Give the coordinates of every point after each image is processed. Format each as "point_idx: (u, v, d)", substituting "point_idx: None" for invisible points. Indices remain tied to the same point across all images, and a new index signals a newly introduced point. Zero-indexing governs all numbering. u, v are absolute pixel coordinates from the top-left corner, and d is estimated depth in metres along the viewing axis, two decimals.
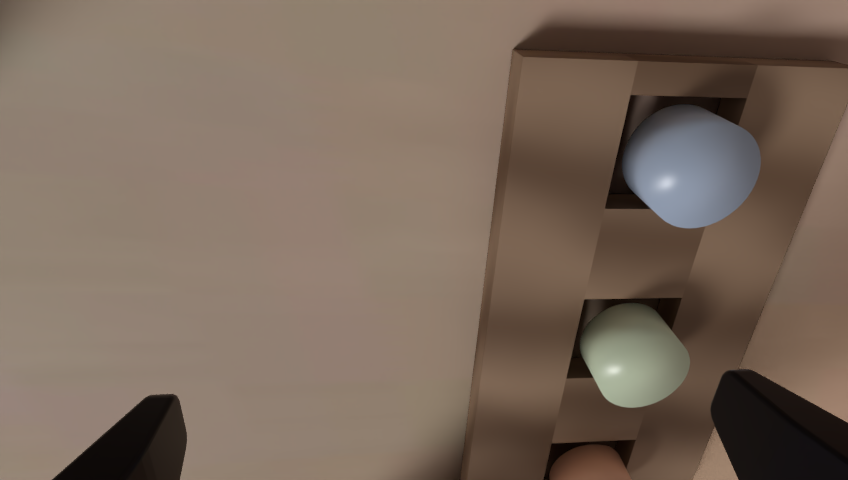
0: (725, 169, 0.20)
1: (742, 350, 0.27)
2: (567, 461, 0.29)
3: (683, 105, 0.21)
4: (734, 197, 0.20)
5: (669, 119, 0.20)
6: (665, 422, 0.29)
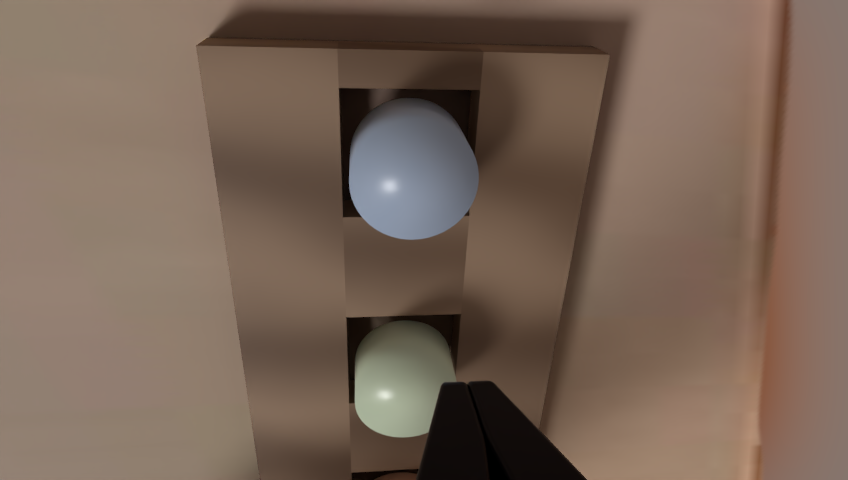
0: (436, 172, 0.17)
1: (546, 370, 0.25)
2: None
3: (404, 99, 0.18)
4: (456, 204, 0.18)
5: (378, 115, 0.18)
6: None
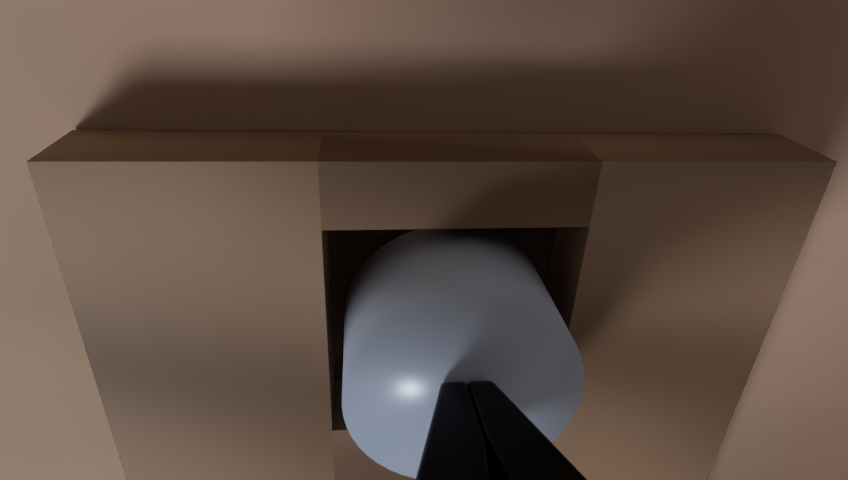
0: (506, 382, 0.09)
1: None
2: None
3: (442, 229, 0.10)
4: (539, 427, 0.10)
5: (396, 267, 0.09)
6: None
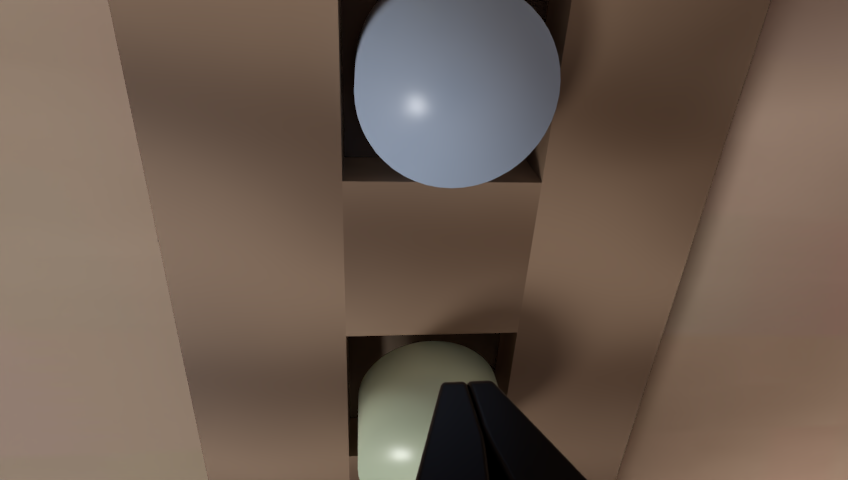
0: (494, 76, 0.11)
1: (632, 411, 0.17)
2: None
3: None
4: (522, 131, 0.11)
5: None
6: None
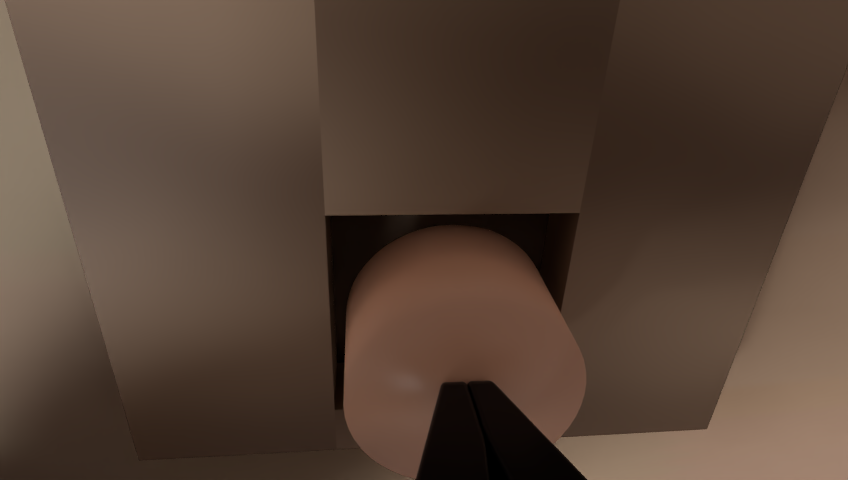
0: None
1: None
2: (376, 269, 0.10)
3: None
4: None
5: None
6: (663, 151, 0.10)
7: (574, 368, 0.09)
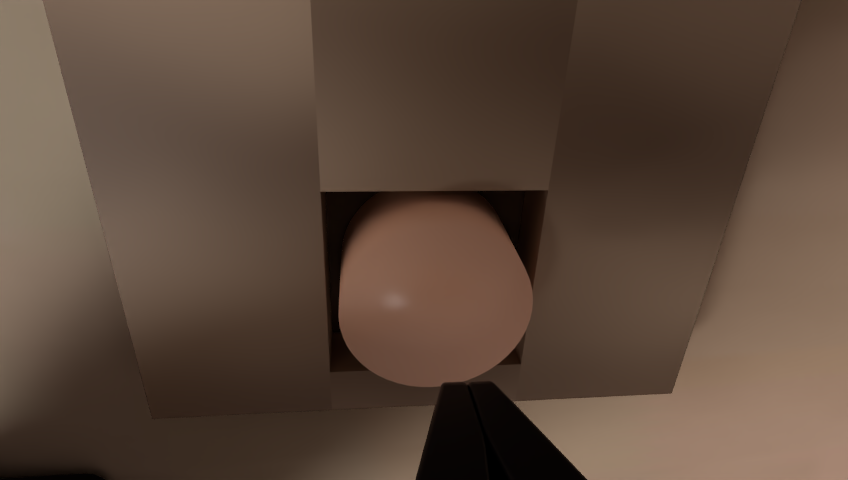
0: None
1: None
2: (365, 212, 0.12)
3: None
4: None
5: None
6: (621, 134, 0.11)
7: (522, 287, 0.11)
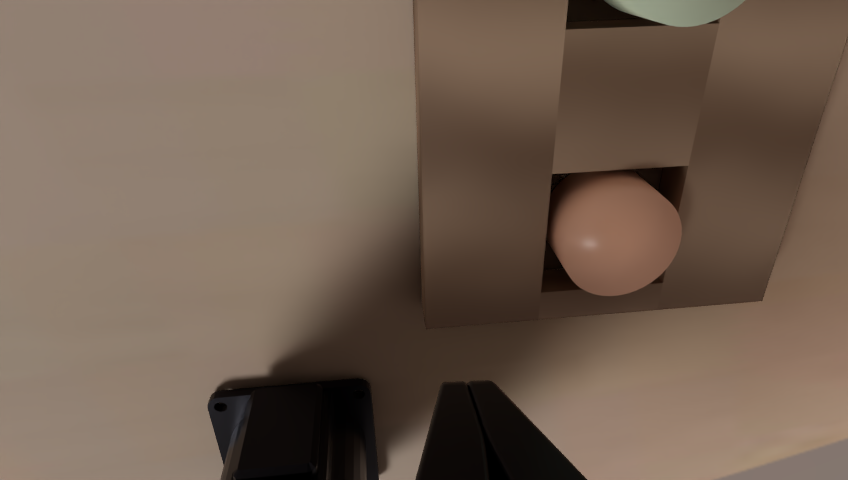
0: None
1: None
2: (566, 187, 0.19)
3: None
4: None
5: None
6: (735, 128, 0.18)
7: (676, 226, 0.18)
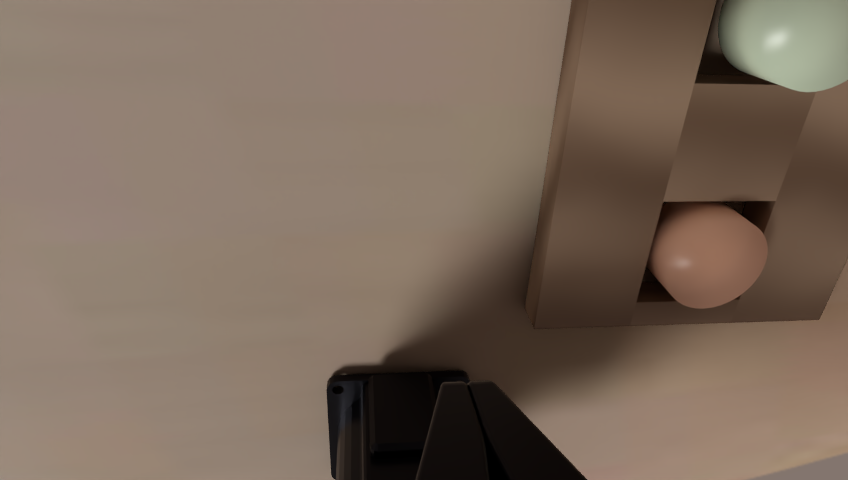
0: None
1: None
2: (667, 212, 0.22)
3: None
4: None
5: None
6: (818, 171, 0.21)
7: (763, 252, 0.22)
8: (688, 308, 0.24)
